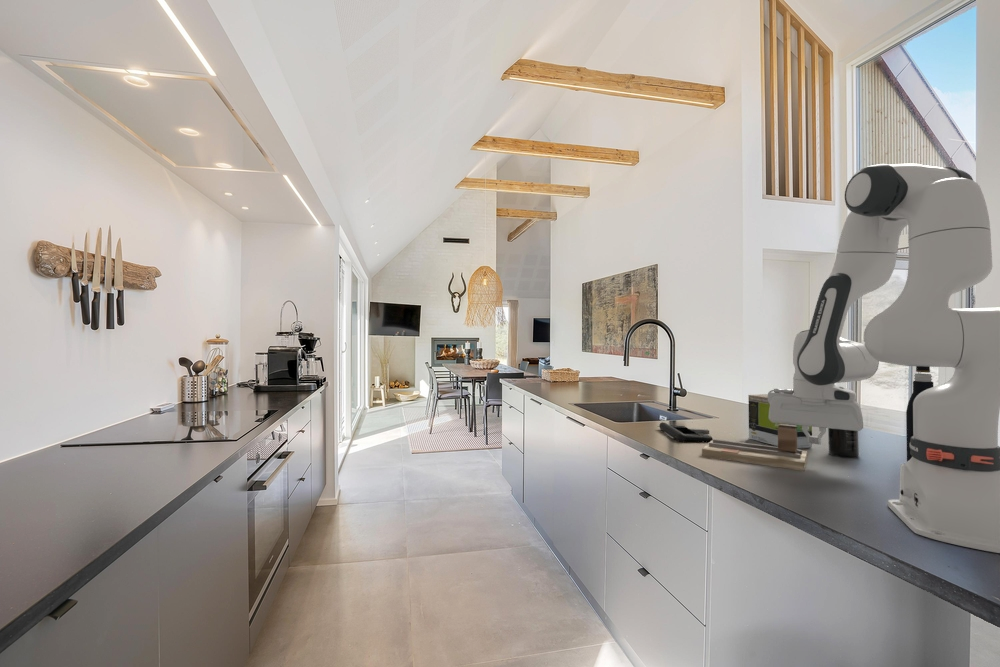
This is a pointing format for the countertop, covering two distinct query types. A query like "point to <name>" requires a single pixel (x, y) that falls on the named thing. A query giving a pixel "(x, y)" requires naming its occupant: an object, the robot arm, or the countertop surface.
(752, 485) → the countertop surface
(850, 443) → the supplement bottle
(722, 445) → the slider board
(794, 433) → the fader knob
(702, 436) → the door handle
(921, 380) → the black water bottle
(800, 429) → the tea box
